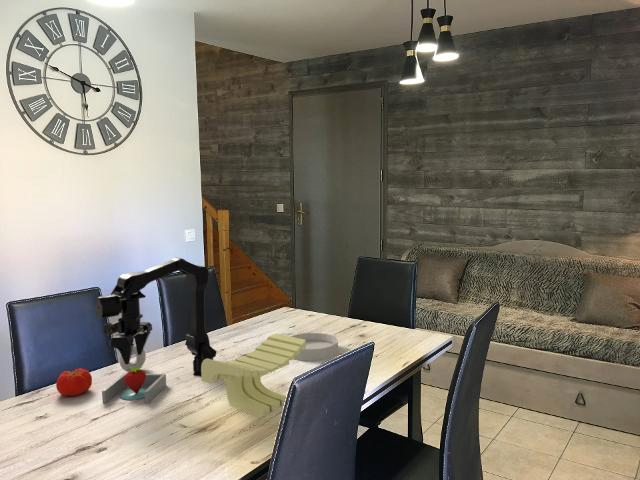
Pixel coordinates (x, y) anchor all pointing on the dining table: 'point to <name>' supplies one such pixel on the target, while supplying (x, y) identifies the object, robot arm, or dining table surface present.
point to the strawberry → (135, 379)
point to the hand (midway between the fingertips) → (133, 359)
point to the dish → (317, 347)
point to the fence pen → (152, 380)
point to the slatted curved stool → (254, 374)
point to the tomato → (74, 382)
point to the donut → (138, 362)
